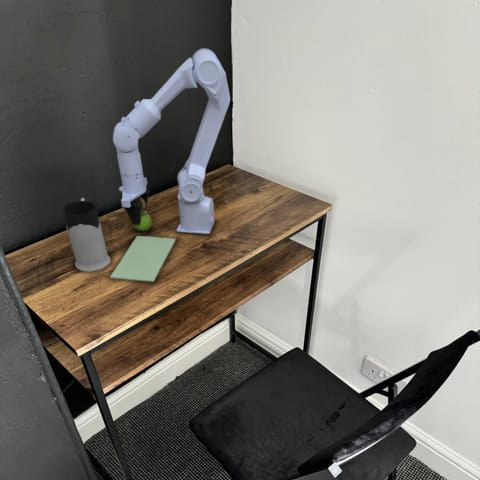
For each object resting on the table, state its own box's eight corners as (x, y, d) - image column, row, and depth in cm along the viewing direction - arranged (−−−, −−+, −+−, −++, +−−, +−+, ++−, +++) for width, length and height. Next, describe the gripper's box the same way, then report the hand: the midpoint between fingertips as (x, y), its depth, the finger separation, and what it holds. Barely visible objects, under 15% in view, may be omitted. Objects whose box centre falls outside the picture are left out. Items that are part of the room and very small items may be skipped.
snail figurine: (141, 222, 133) (134, 183, 125) (157, 229, 130) (151, 189, 123) (127, 230, 130) (119, 190, 122) (143, 237, 127) (136, 196, 119)
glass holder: (74, 273, 114) (57, 218, 104) (78, 244, 125) (63, 191, 115) (110, 269, 115) (97, 214, 106) (110, 240, 126) (99, 188, 116)
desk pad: (175, 239, 126) (175, 238, 126) (153, 282, 111) (153, 280, 111) (137, 237, 127) (137, 235, 127) (110, 278, 112) (109, 276, 112)
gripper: (126, 160, 125) (134, 206, 134) (106, 182, 114) (116, 231, 123) (151, 162, 124) (157, 208, 133) (133, 184, 113) (141, 233, 122)
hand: (139, 219), depth 128 cm, fingers closed on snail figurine, 4 cm apart
